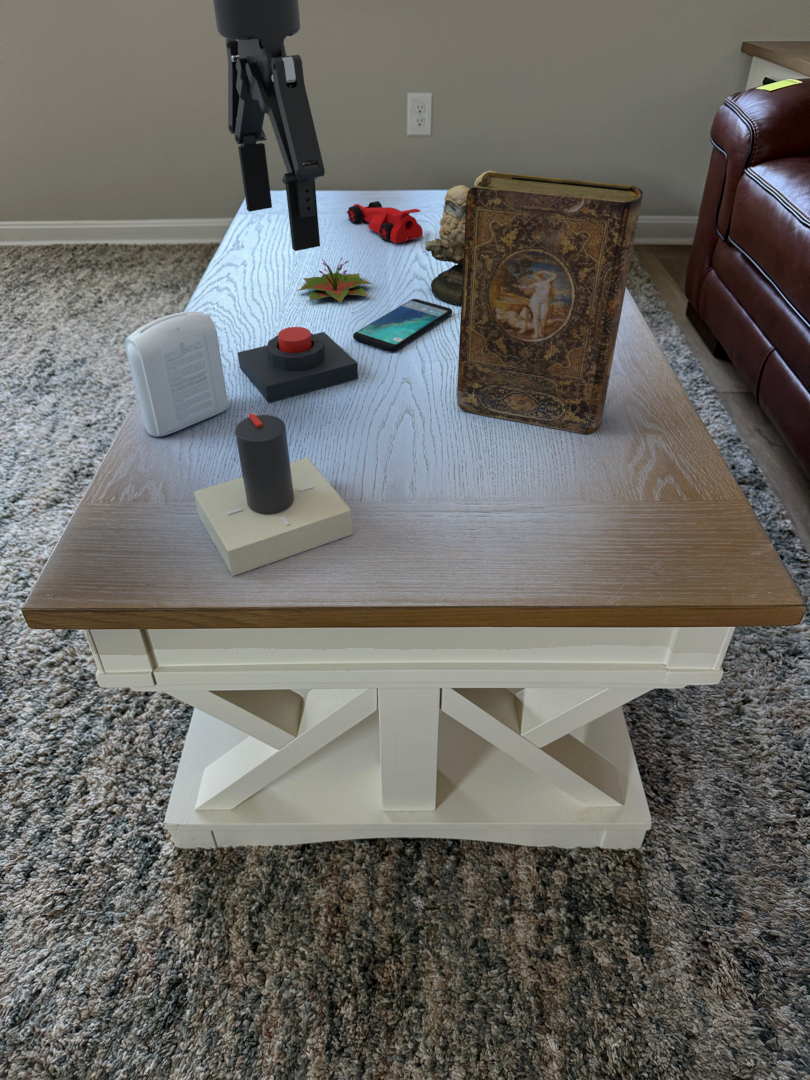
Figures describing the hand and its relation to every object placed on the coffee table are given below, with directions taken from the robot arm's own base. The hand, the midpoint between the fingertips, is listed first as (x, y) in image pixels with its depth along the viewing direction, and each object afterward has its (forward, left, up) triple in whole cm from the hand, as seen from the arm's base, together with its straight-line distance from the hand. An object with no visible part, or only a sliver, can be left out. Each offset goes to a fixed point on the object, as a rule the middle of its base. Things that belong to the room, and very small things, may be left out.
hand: (281, 227), depth 83 cm
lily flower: (+17, +25, -20) cm, 36 cm away
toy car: (+36, +46, -20) cm, 62 cm away
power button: (+2, +4, -16) cm, 17 cm away
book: (+22, -18, -20) cm, 34 cm away
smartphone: (+20, +9, -20) cm, 29 cm away
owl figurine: (+36, +13, -20) cm, 43 cm away
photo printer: (-14, 0, -20) cm, 24 cm away
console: (-12, -23, -20) cm, 33 cm away
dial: (-12, -23, -17) cm, 31 cm away
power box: (+2, +4, -20) cm, 20 cm away
